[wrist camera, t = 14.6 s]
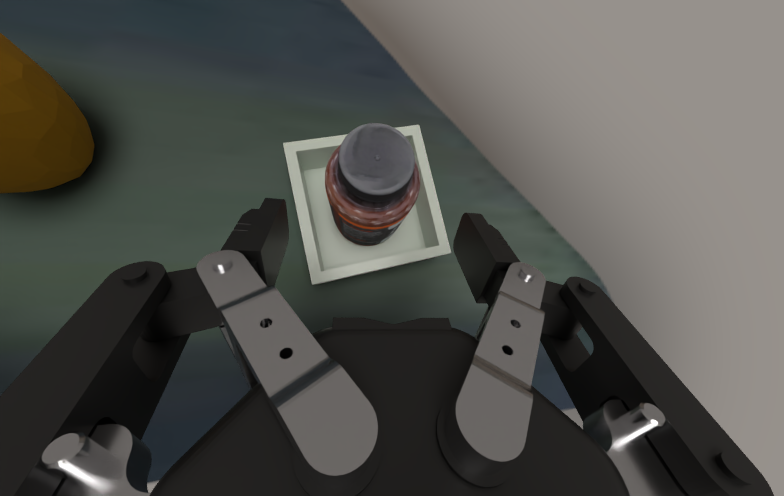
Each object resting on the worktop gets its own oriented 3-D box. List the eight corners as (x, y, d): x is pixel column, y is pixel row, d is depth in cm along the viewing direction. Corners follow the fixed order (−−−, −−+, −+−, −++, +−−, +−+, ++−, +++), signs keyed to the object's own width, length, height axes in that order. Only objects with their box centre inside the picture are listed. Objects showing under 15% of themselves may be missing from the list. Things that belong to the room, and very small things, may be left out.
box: (318, 284, 25) (312, 284, 20) (294, 167, 26) (283, 143, 21) (433, 257, 27) (451, 252, 22) (407, 149, 28) (418, 124, 23)
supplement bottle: (405, 240, 25) (445, 205, 14) (340, 253, 24) (329, 225, 13) (392, 178, 26) (420, 99, 15) (328, 188, 25) (308, 111, 14)
